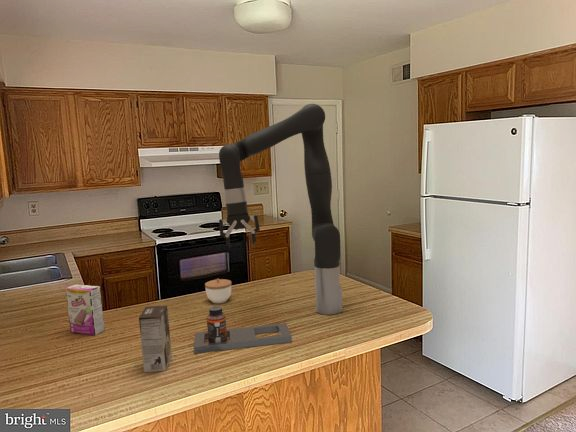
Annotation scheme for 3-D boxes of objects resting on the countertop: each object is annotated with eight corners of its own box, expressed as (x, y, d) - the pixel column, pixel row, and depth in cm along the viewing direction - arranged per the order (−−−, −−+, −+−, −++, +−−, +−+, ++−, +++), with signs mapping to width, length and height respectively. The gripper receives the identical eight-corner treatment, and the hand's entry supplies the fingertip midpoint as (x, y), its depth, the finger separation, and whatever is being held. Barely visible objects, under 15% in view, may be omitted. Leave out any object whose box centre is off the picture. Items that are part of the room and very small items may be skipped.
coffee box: (150, 358, 130) (145, 306, 128) (172, 356, 131) (167, 304, 129) (143, 372, 121) (137, 317, 119) (166, 370, 122) (161, 315, 120)
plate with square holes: (286, 328, 148) (285, 322, 147) (291, 342, 137) (291, 336, 136) (195, 338, 143) (195, 332, 143) (194, 353, 132) (193, 347, 132)
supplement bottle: (223, 346, 135) (220, 311, 134) (205, 345, 136) (202, 311, 135) (229, 338, 141) (227, 305, 139) (212, 337, 142) (210, 304, 141)
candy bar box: (69, 333, 152) (64, 288, 150) (80, 327, 157) (75, 283, 155) (95, 336, 149) (89, 289, 147) (105, 330, 153) (100, 285, 151)
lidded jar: (221, 306, 172) (219, 283, 171) (200, 303, 178) (199, 280, 177) (237, 298, 181) (236, 276, 180) (218, 295, 187) (216, 274, 186)
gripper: (215, 204, 151) (222, 250, 153) (256, 199, 153) (262, 244, 155) (215, 202, 158) (221, 246, 160) (254, 198, 161) (260, 241, 162)
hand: (241, 245), depth 158 cm, fingers open, 8 cm apart
